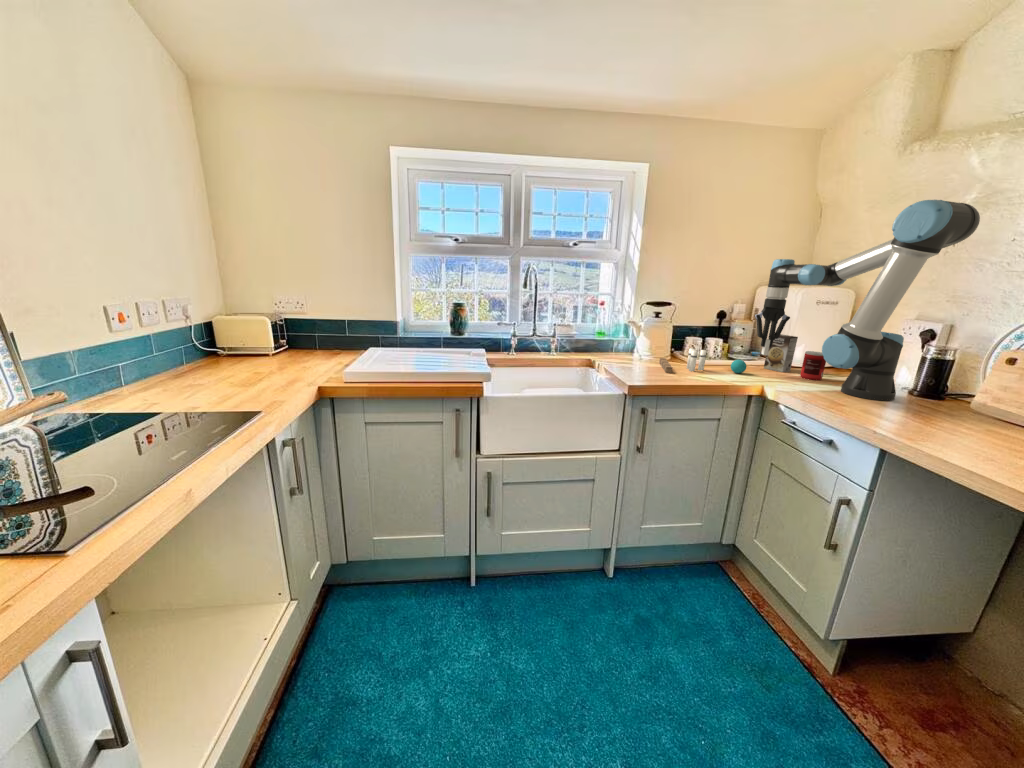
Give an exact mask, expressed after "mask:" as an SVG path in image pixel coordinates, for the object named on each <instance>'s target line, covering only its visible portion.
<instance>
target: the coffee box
mask: <svg viewBox="0 0 1024 768" xmlns="http://www.w3.org/2000/svg"><path fill="white" fill-rule="evenodd" d="M798 338H799V337H798V336H796V335H788V334H782V333H781V334H780V336H779V338H778V339H774V340H773V342H772V346H771V347H769V350H768V354H767V355H765V358H764V365H763V369H765V370H766V369H767V370H770V371H775V372H778V373H789V372H791V370H792V364H793V360H794V356H795V351H796V346H797V342H798V340H799V339H798Z"/></svg>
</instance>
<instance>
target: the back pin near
mask: <svg viewBox="0 0 1024 768" xmlns="http://www.w3.org/2000/svg"><path fill="white" fill-rule="evenodd" d="M698 352H699V351H698V350H696V349H695V350H692V352H691V359H690V366H689V369H688V371H689V372H692V371H694V372H695V371H696V364H697V358H698Z"/></svg>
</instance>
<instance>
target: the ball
mask: <svg viewBox="0 0 1024 768" xmlns="http://www.w3.org/2000/svg"><path fill="white" fill-rule="evenodd" d="M730 369H731V371H732V372H733V373H735V374H742V373H744V372H745V371H746V370H747V364H746V362H745V361H744V360H743V359H735V360H733V361H732V362H731V363H730Z"/></svg>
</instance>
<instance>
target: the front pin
mask: <svg viewBox="0 0 1024 768" xmlns="http://www.w3.org/2000/svg"><path fill="white" fill-rule="evenodd" d="M707 351H708V350H706V349H700V352H699V359H698V366H697V371H698V370H704V369H705V364H706V358H707V357H706V356H707Z"/></svg>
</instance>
